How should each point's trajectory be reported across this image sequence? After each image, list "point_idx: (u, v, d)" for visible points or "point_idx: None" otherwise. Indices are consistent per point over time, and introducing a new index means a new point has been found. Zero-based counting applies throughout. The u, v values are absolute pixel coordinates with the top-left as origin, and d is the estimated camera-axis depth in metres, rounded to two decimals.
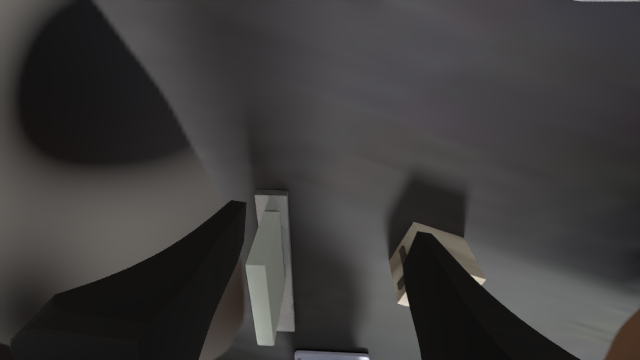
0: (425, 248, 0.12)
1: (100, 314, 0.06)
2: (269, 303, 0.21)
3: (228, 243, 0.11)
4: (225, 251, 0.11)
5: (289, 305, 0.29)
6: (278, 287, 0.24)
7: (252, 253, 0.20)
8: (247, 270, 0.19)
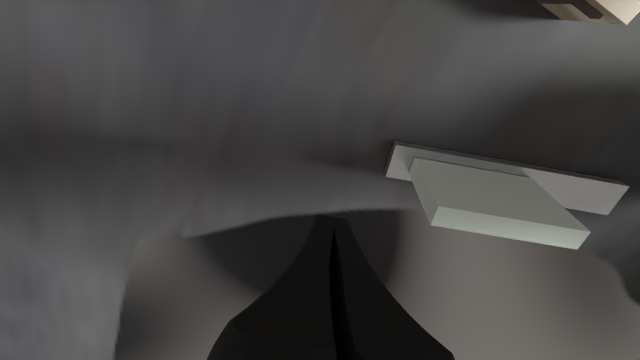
0: (333, 233, 0.12)
1: (288, 342, 0.06)
2: (505, 216, 0.16)
3: None
4: None
5: (572, 180, 0.21)
6: (511, 191, 0.18)
7: (426, 210, 0.17)
8: (439, 225, 0.16)
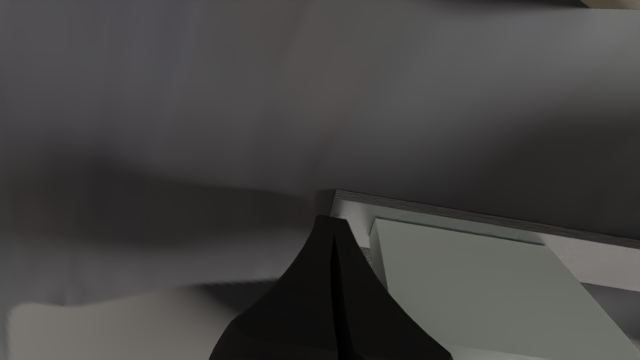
0: None
1: (290, 343, 0.06)
2: (514, 350, 0.09)
3: None
4: None
5: (599, 248, 0.14)
6: (521, 281, 0.12)
7: None
8: None
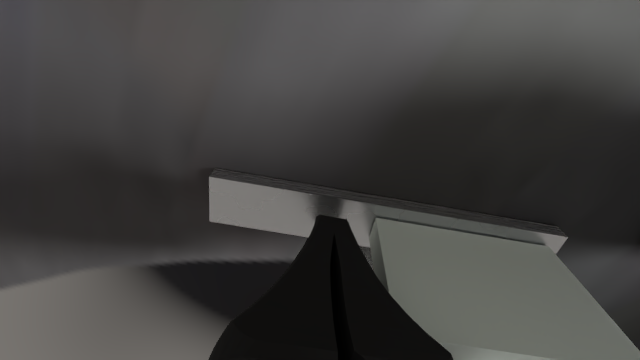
0: None
1: (290, 343, 0.06)
2: (514, 349, 0.09)
3: None
4: None
5: (482, 228, 0.14)
6: (521, 281, 0.12)
7: None
8: None
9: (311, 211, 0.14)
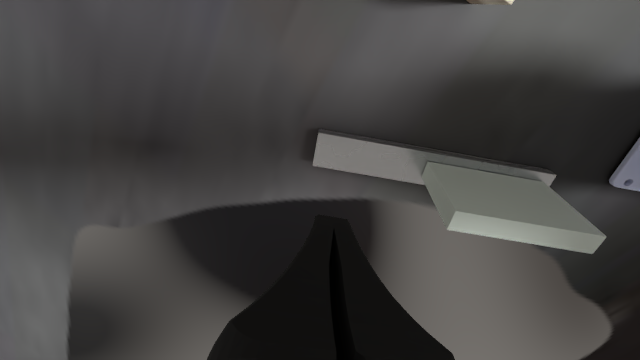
0: (333, 233, 0.12)
1: (288, 342, 0.06)
2: (522, 221, 0.16)
3: None
4: None
5: (499, 169, 0.21)
6: (525, 196, 0.19)
7: (442, 215, 0.17)
8: (456, 229, 0.16)
9: (384, 157, 0.21)
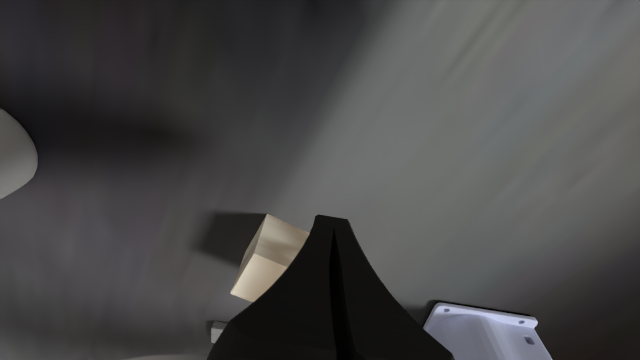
0: (333, 233, 0.12)
1: (288, 343, 0.06)
2: None
3: None
4: None
5: None
6: None
7: None
8: None
9: None
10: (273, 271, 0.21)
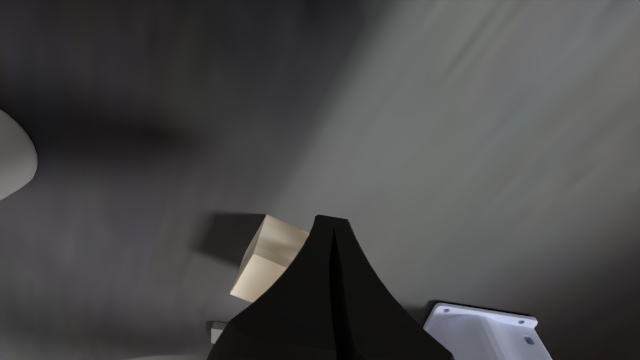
0: (333, 233, 0.12)
1: (288, 342, 0.06)
2: None
3: None
4: None
5: None
6: None
7: None
8: None
9: None
10: (273, 272, 0.21)
